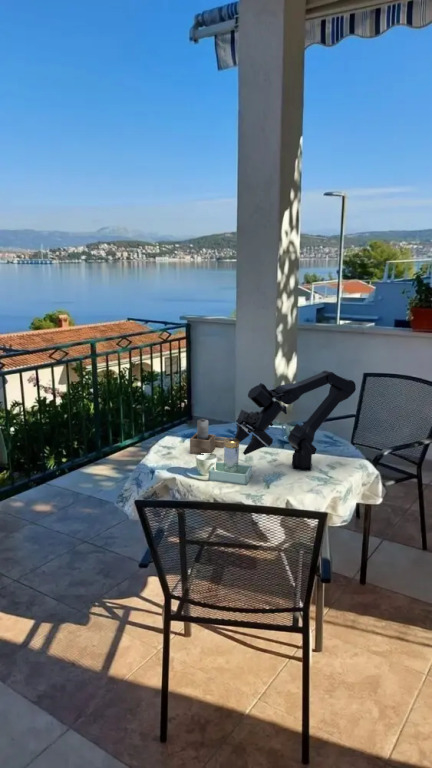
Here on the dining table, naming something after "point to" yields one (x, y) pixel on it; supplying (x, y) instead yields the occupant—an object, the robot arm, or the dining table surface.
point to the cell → (231, 455)
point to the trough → (230, 474)
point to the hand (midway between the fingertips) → (238, 449)
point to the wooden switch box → (219, 442)
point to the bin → (202, 439)
